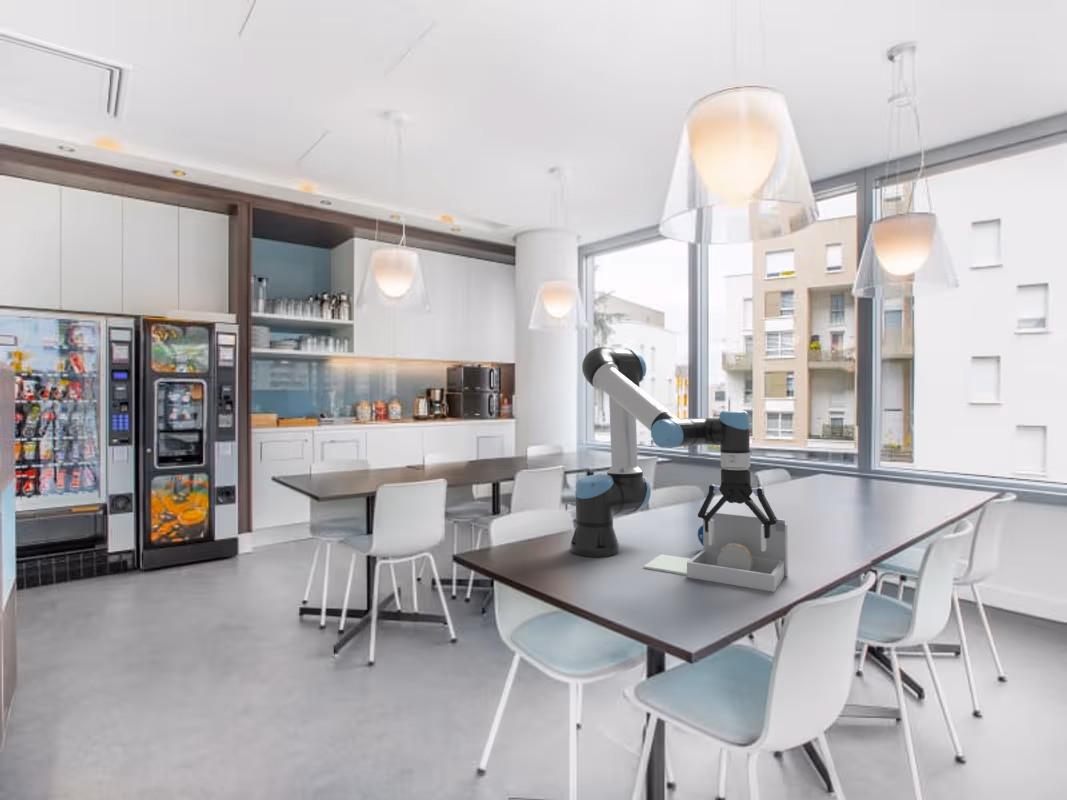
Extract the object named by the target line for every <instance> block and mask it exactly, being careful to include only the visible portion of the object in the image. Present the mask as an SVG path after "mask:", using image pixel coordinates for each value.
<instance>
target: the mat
mask: <svg viewBox="0 0 1067 800" xmlns="http://www.w3.org/2000/svg"><path fill="white" fill-rule="evenodd" d="M691 559H692V558H689V557H682V556H676V555H675V556H674V555H668V554H662V553H661V554H659V555H658V556H657V557H655V558H653V559H651V561H648V562H647V563H646V564H644V565H643V569H647V570H651V571H652V570H653V571H658V572H664V573H671V574H677V575H682V576H687V562H688V561H689V560H691ZM705 564H706V563H705Z"/></svg>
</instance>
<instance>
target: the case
mask: <svg viewBox="0 0 1067 800" xmlns="http://www.w3.org/2000/svg"><path fill="white" fill-rule="evenodd" d="M709 512H710V511H706V513H705V514H708V513H709ZM767 518H768V517H767ZM711 519H712V520H714V544H713V545H709V532H706V531H705V520H704V519H703V518H702V525H703V545H702V547H703V548H702V550H701V551H700V552H698V553H697V554H696V555H694V556H692V558H690V559H691V560H689V561H688V562H687V575H686V577H687V578H690V579H695V580H696V579H697V580H702V581H708V582H712V583H713V582H714V583H718V584H725V585H731V586H737V587H743V588H748V589H749V588H750V589H755V590H760V591H766V592H767V591H768V592H773V593H775V592H776V590H777V589H778V587H779V585H780V584H781V582H782V580H784V577H785V578H787V577H789V571H788V570H789V562H788V561H789V558H788V557H789V554H788V553H789V552H788V551H789V550H788V547H789V546H788V545H789V543H788V541H789V539H788V538H789V537H788V533H789V532H788V530H789V528H788V523H786V519H783V518H777V520H778V521H777V523H776V524H774V525H770V537H769V538H766V550H765V551H761V526H762V525H763V523H762V522H761V521H760V520H759V519H758V517H757V516H755V515H754V516H753V515H752V516H751V515H743V514H733V513H725V512H723V513H722V512H716V513H715V514H714V515H713V516H712V517H711ZM768 520H769V518H768ZM730 543H731V544H732V543H737V544H738V543H739V544H740V545H743V546H745V547H746V548H747V549H748V551H749V552H750V553H751V557H752V560H753V566H752V569H751V571H747V570H741V569H734V568H728V567H721V566H717V556H718V552H719V551H720V549H722V548H723V547H724V546H726V545H727V544H730ZM705 563H706V564H705Z"/></svg>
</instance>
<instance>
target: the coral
mask: <svg viewBox="0 0 1067 800" xmlns="http://www.w3.org/2000/svg"><path fill="white" fill-rule="evenodd" d="M717 566H721V567H728V568H734V569H741V570H747V571H751V569H752V566H753V560H752V557H751V553H750V552H749V551H748V549H747V548H746V547H745V546H743V545H740V544H739V543H738V544H737V543H732V544H731V543H730V544H727V545H726V546H724V547H723V548H722V549H720V551H719V552H718V556H717Z"/></svg>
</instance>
